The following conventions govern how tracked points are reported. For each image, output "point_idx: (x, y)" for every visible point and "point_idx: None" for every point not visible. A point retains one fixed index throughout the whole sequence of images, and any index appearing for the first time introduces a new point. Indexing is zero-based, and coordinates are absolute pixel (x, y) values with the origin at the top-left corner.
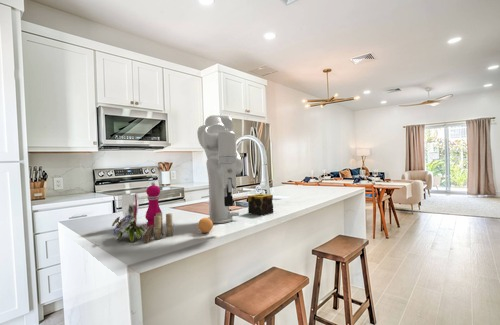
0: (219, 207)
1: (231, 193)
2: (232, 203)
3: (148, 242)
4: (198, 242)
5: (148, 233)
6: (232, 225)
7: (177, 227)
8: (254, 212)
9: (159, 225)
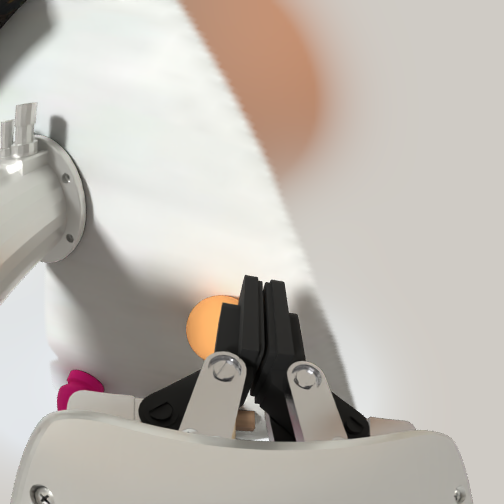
0: (24, 248)
1: (328, 401)
2: (285, 296)
3: (254, 412)
4: (329, 342)
5: (244, 427)
6: (140, 159)
7: (114, 353)
8: (1, 19)
9: (233, 430)
